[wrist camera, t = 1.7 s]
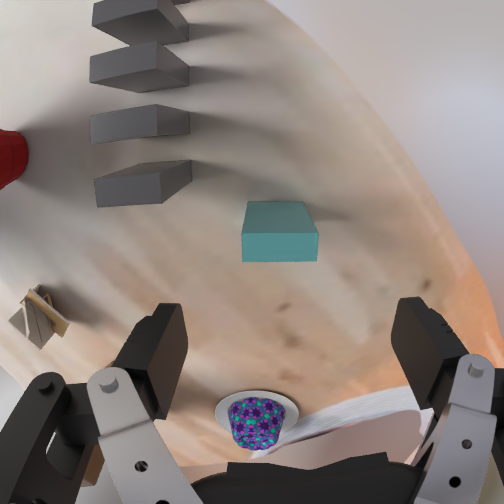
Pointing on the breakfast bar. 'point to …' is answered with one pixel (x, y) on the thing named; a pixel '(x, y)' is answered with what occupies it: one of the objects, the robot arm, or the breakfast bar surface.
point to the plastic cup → (12, 156)
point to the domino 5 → (278, 233)
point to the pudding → (256, 418)
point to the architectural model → (38, 319)
